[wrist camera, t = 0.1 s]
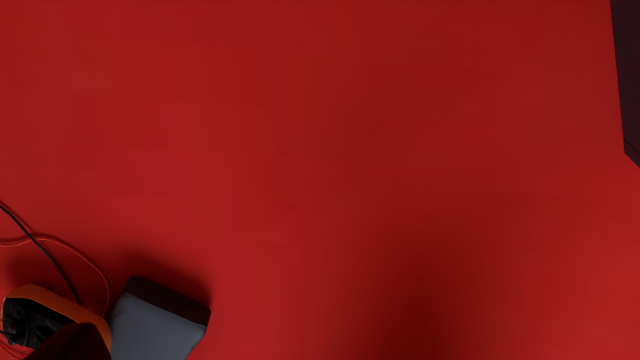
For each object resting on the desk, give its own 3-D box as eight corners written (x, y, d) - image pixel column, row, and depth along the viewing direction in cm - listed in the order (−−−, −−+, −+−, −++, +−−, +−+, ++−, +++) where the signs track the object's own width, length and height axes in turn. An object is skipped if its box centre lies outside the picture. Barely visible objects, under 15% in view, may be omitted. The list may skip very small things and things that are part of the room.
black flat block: (-173, 292, 29) (-231, 340, 26) (-122, 132, 24) (-187, 169, 21) (128, 420, 34) (108, 473, 31) (223, 311, 29) (211, 361, 26)
